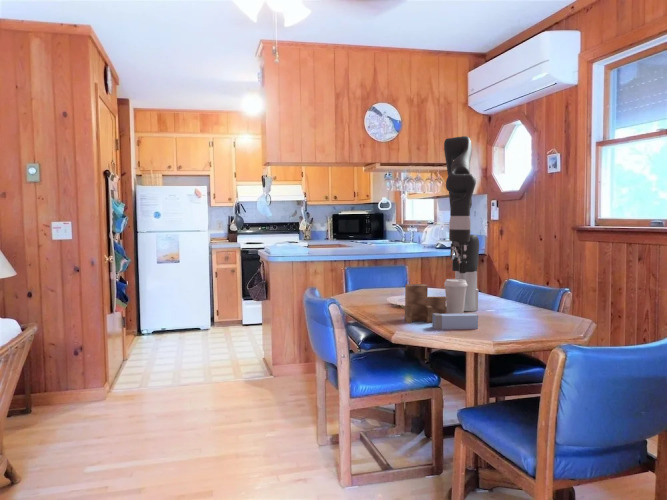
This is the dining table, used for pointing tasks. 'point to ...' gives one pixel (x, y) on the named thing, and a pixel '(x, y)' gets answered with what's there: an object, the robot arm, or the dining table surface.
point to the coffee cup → (455, 295)
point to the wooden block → (421, 304)
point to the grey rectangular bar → (454, 321)
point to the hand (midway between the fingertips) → (458, 272)
